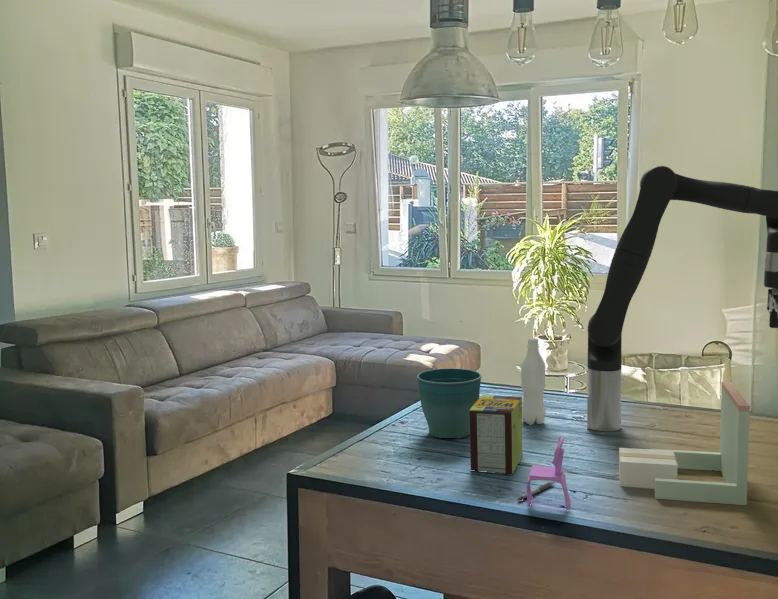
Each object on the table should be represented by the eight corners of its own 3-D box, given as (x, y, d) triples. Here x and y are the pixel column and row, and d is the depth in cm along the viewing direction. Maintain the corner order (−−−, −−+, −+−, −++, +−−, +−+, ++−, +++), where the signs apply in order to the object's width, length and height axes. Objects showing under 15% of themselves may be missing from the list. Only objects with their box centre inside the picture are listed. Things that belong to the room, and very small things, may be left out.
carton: (620, 487, 166) (620, 461, 165) (618, 472, 175) (619, 447, 175) (676, 491, 163) (677, 464, 162) (672, 475, 172) (673, 450, 171)
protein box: (522, 455, 189) (522, 396, 187) (512, 475, 174) (512, 412, 173) (482, 452, 192) (481, 393, 190) (469, 472, 178) (468, 409, 176)
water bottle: (549, 421, 218) (549, 338, 215) (540, 427, 212) (540, 342, 209) (526, 418, 222) (526, 336, 219) (517, 424, 216) (516, 340, 213)
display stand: (655, 498, 158) (656, 402, 156) (648, 464, 179) (649, 379, 177) (746, 505, 153) (749, 406, 151) (728, 469, 174) (730, 381, 172)
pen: (515, 503, 159) (515, 497, 158) (552, 485, 168) (552, 479, 168) (519, 504, 158) (519, 498, 158) (555, 486, 168) (555, 480, 167)
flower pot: (474, 445, 197) (473, 383, 195) (410, 441, 203) (409, 380, 201) (487, 427, 214) (487, 369, 212) (428, 422, 220) (427, 367, 218)
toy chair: (529, 495, 162) (529, 429, 160) (570, 499, 159) (570, 432, 157) (525, 510, 154) (525, 441, 152) (568, 514, 151) (568, 444, 150)
